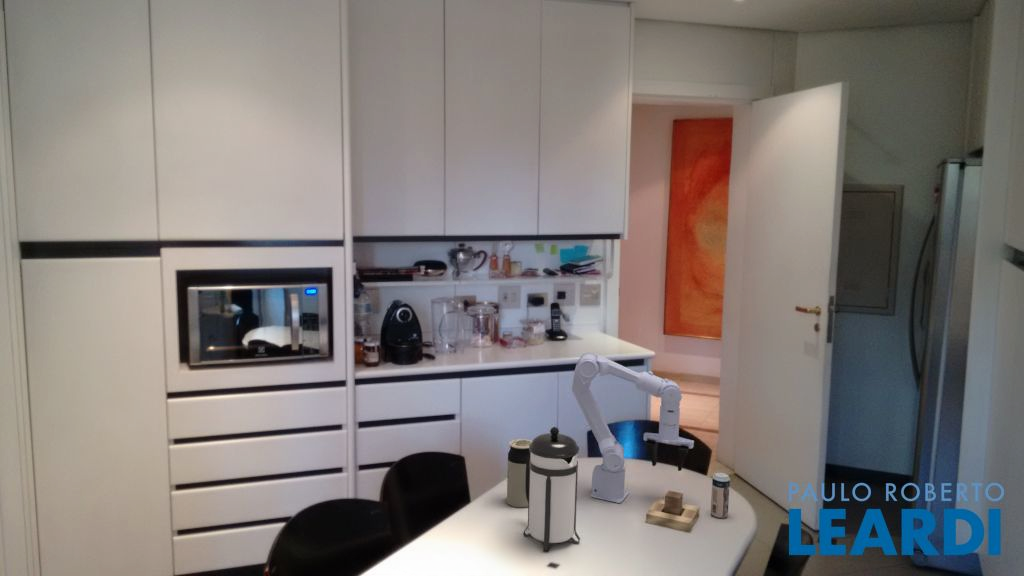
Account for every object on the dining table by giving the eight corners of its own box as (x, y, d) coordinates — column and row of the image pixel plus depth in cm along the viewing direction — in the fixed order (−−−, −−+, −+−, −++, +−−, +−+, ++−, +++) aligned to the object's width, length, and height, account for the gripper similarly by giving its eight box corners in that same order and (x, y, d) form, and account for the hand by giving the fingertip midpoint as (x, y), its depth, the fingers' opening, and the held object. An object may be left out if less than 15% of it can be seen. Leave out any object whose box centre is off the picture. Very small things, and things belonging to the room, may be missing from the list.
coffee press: (586, 530, 182) (590, 421, 179) (572, 557, 167) (576, 439, 164) (525, 519, 188) (528, 414, 185) (506, 545, 173) (508, 430, 170)
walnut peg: (663, 519, 190) (664, 495, 189) (667, 514, 193) (668, 490, 192) (678, 522, 188) (679, 498, 187) (681, 517, 191) (682, 493, 191)
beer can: (728, 519, 191) (731, 478, 190) (711, 518, 192) (713, 477, 190) (726, 512, 195) (729, 472, 194) (709, 511, 196) (711, 471, 195)
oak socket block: (645, 522, 188) (646, 513, 188) (657, 506, 199) (657, 498, 198) (689, 532, 183) (689, 523, 182) (699, 515, 193) (699, 507, 193)
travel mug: (538, 500, 201) (539, 441, 199) (527, 510, 194) (528, 449, 192) (513, 495, 204) (515, 437, 203) (502, 504, 197) (503, 444, 195)
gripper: (641, 422, 200) (639, 466, 201) (690, 430, 193) (688, 476, 195) (648, 416, 206) (646, 459, 208) (696, 424, 200) (693, 468, 201)
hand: (667, 467), depth 202 cm, fingers open, 7 cm apart
